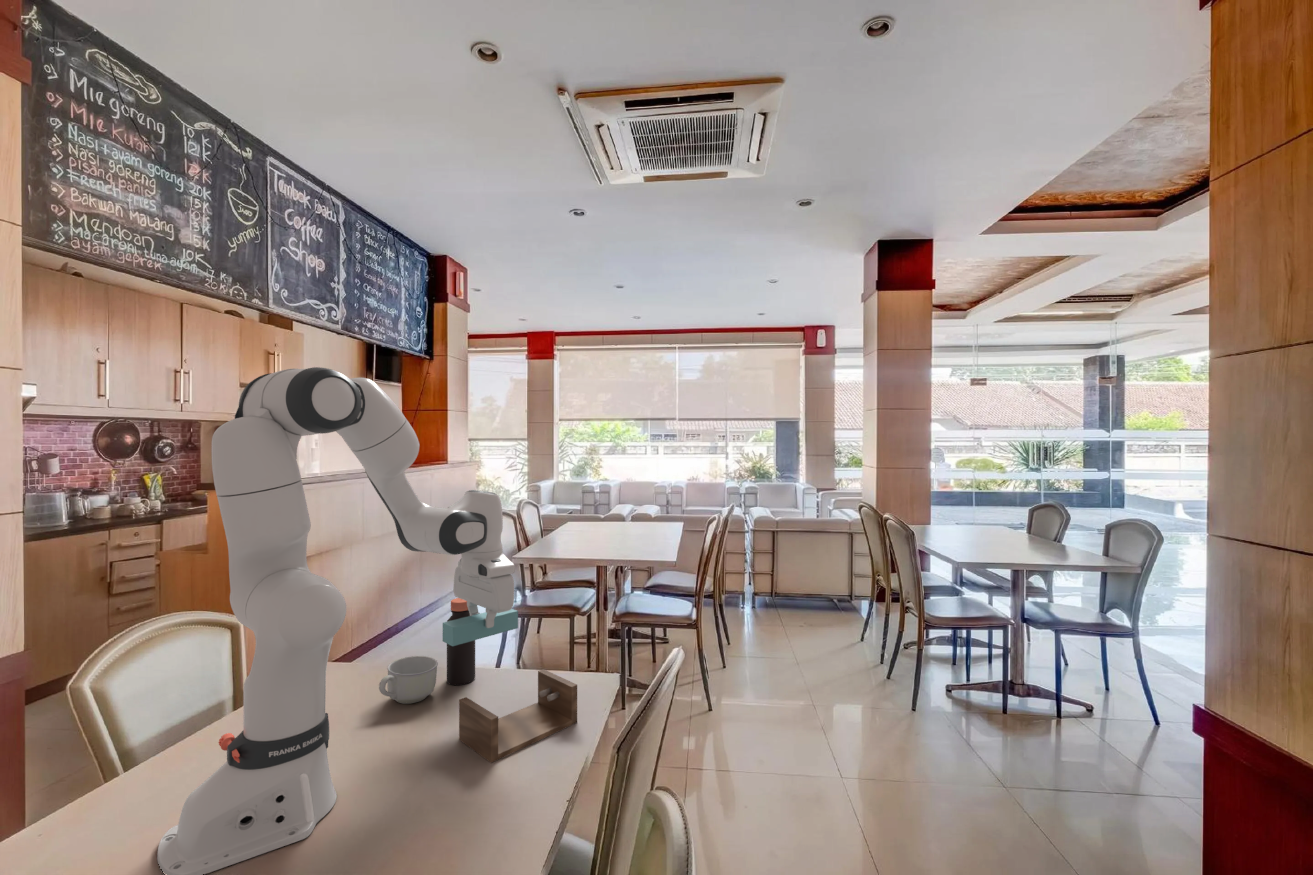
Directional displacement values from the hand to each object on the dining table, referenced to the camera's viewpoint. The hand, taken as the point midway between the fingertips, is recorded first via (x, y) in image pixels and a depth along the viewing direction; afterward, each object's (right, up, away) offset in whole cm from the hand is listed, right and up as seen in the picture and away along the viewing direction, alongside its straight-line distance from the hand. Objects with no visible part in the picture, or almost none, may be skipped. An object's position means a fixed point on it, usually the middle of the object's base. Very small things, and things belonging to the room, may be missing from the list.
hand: (481, 623), depth 126 cm
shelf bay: (+11, -19, -10) cm, 24 cm away
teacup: (-18, -19, +4) cm, 27 cm away
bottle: (-10, -19, +14) cm, 26 cm away
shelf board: (0, -2, 0) cm, 2 cm away
